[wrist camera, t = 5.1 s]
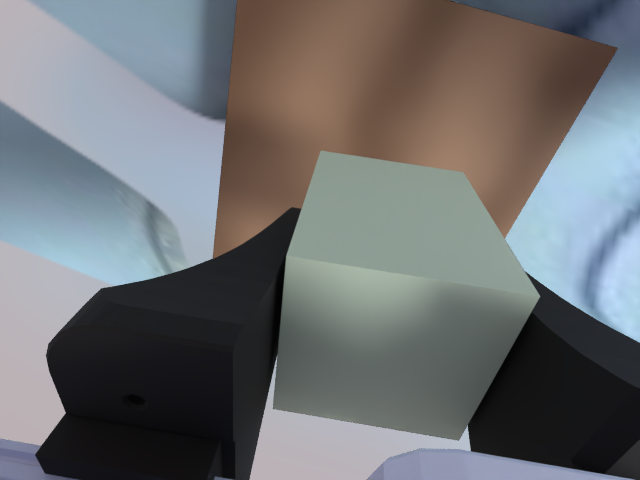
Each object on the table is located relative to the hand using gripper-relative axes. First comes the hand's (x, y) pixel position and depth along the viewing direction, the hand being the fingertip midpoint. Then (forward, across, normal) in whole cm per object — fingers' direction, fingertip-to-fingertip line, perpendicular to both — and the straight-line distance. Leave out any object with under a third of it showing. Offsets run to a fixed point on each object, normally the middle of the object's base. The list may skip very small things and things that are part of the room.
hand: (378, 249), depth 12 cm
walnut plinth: (+8, 0, 0) cm, 8 cm away
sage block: (+2, 0, 0) cm, 2 cm away
